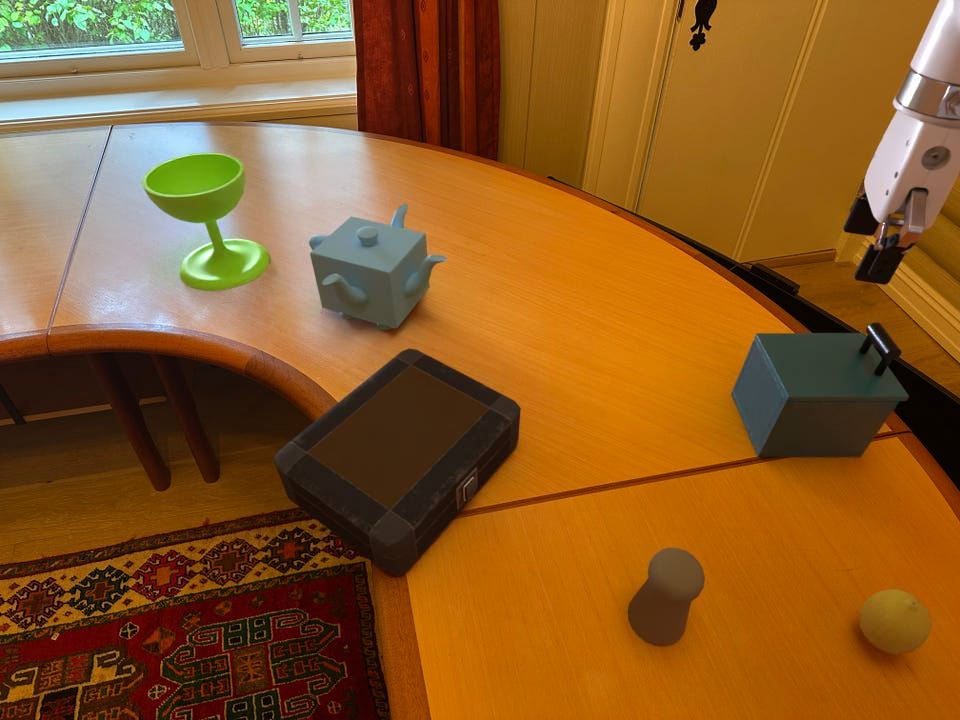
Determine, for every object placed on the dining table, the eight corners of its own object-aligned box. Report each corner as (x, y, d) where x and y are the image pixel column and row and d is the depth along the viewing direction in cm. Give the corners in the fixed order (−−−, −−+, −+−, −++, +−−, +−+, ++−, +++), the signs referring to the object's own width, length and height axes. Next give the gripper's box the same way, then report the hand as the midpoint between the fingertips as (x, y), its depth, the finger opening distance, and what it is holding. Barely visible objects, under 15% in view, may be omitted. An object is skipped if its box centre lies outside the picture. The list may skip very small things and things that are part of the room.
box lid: (861, 337, 81) (880, 305, 77) (906, 401, 72) (929, 368, 69) (754, 337, 81) (767, 305, 77) (786, 401, 72) (802, 369, 69)
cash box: (402, 588, 67) (396, 552, 61) (280, 495, 75) (265, 457, 70) (527, 444, 81) (530, 405, 76) (412, 381, 90) (408, 342, 85)
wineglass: (202, 239, 119) (170, 150, 106) (281, 243, 117) (258, 154, 105) (163, 287, 107) (121, 194, 95) (250, 293, 106) (220, 199, 93)
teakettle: (314, 289, 107) (296, 214, 97) (415, 265, 112) (408, 192, 102) (339, 356, 94) (321, 278, 84) (451, 325, 99) (448, 249, 89)
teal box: (823, 393, 88) (855, 337, 81) (860, 457, 80) (899, 401, 72) (730, 393, 88) (754, 337, 81) (757, 457, 80) (786, 401, 72)
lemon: (891, 678, 60) (933, 645, 54) (837, 635, 63) (871, 600, 57) (914, 640, 63) (956, 606, 57) (860, 601, 66) (895, 564, 60)
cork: (616, 602, 65) (634, 550, 58) (663, 581, 67) (686, 528, 60) (649, 656, 61) (672, 608, 54) (697, 632, 63) (727, 582, 56)
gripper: (1026, 138, 47) (917, 309, 59) (968, 67, 59) (888, 221, 71) (919, 126, 49) (834, 295, 61) (884, 60, 61) (819, 212, 73)
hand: (863, 255), depth 66 cm, fingers open, 9 cm apart
